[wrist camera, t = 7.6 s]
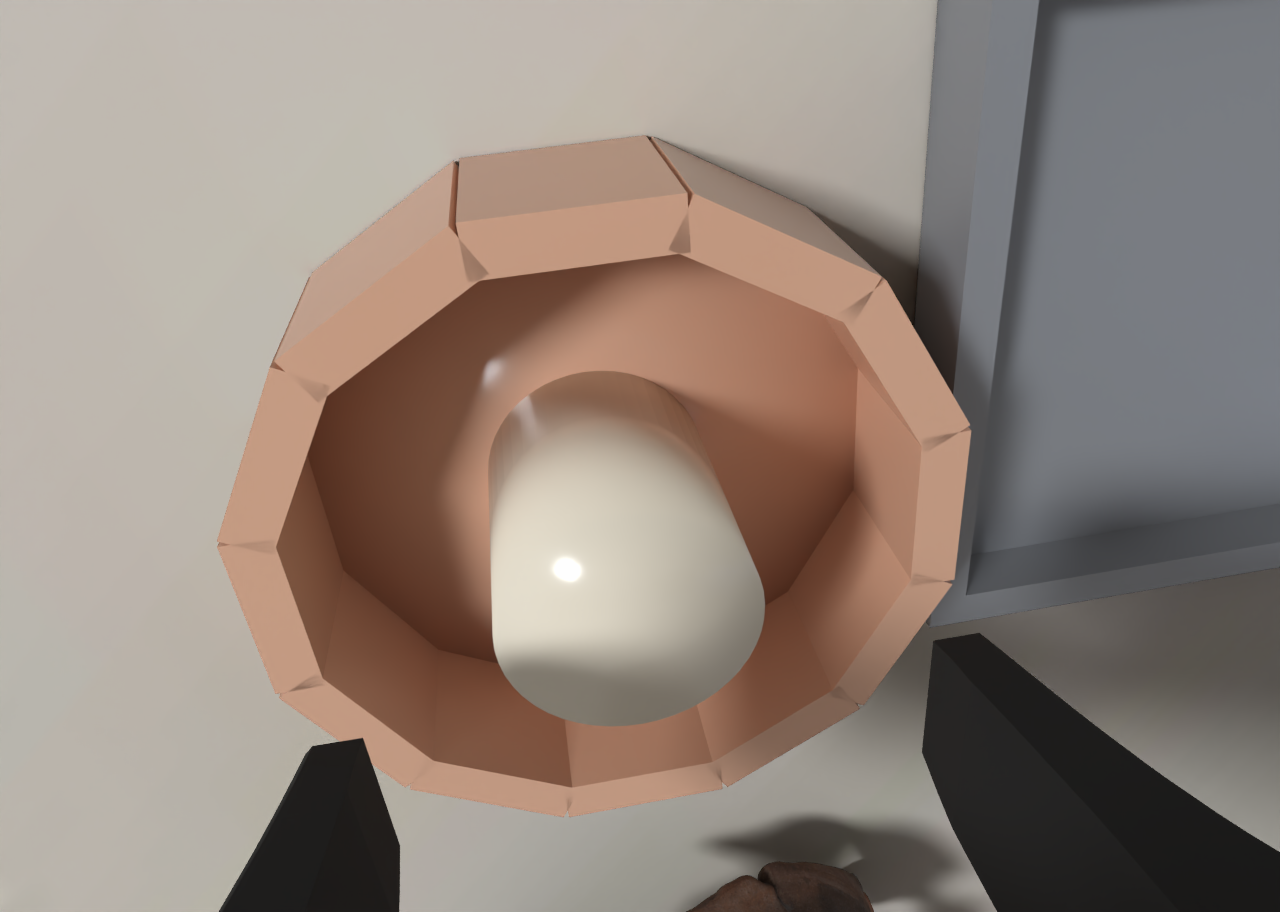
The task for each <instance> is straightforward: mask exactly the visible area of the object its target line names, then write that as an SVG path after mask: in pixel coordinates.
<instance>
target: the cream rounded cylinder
mask: <svg viewBox="0 0 1280 912" xmlns="http://www.w3.org/2000/svg"><path fill="white" fill-rule="evenodd" d="M488 488H489V524H490V560H491V596H492V633H493V643H494V651H495V654H496V657H497V660H498V663H499V665H500V667H501V669H502V671H503V673H504V675H505V677H506V678H507V679H508V681H509V682H510V683H511V685H512V686H513V687H514V688H515V689H516V690H517V691H518V692H519V693H520V694H521V695H522V696H523V697H524V698H525V699H527V700H528V701H529V702H531V703H532V704H533V705H535V706H537V707H538V708H540V709H542V710H544V711H546V712H547V713H550V714H552V715H555V716H557V717H559V718H562V719H565V720H569V721H573V722H576V723H582V724H588V725H594V726H629V725H637V724H644V723H648V722H653V721H657V720H661V719H664V718H667V717H670V716H673V715H676V714H678V713H681V712H683V711H685V710H687V709H690V708H692V707H694V706H695V705H697V704H699V703H701V702H703V701H704V700H706V699H707V698H709V697H710V696H712V695H713V694H715V693H716V692H718V691H719V690H720V689H721V688H722V687H723V686H725V685H726V684H727V683H728V682H729V681H730V680H731V679H732V678H733V677H734V676H735V675H736V674H737V673H738V672H739V671H740V670H741V668H742V667H743V665H744V664H745V663H746V661H747V660H748V659H749V657H750V655H751V654H752V652H753V650H754V648H755V646H756V644H757V642H758V639H759V637H760V634H761V631H762V627H763V622H764V616H765V598H764V590H763V587H762V583H761V579H760V577H759V574H758V572H757V570H756V567H755V565H754V562H753V560H752V558H751V555H750V553H749V551H748V548H747V546H746V544H745V541H744V539H743V536H742V534H741V532H740V529H739V527H738V525H737V522H736V520H735V518H734V515H733V513H732V511H731V508H730V506H729V503H728V501H727V499H726V496H725V494H724V492H723V489H722V487H721V485H720V482H719V480H718V478H717V475H716V473H715V470H714V468H713V466H712V463H711V461H710V459H709V456H708V454H707V452H706V449H705V447H704V445H703V442H702V440H701V437H700V435H699V433H698V430H697V428H696V426H695V424H694V422H693V420H692V418H691V416H690V415H689V413H688V412H687V410H686V409H685V407H684V406H683V405H682V404H681V403H680V402H679V401H678V400H677V399H676V398H675V397H674V396H673V395H672V394H670V393H669V392H668V391H667V390H665V389H664V388H662V387H660V386H659V385H657V384H655V383H654V382H651V381H649V380H647V379H644V378H642V377H639V376H635V375H632V374H629V373H622V372H616V371H588V372H581V373H576V374H571V375H568V376H565V377H562V378H559V379H556V380H554V381H551V382H549V383H547V384H545V385H543V386H541V387H540V388H538V389H536V390H535V391H533V392H532V393H530V394H529V395H528V396H526V397H525V398H524V399H523V400H521V401H520V402H519V403H518V404H517V405H516V406H515V407H514V408H513V409H512V410H511V411H510V412H509V414H508V415H507V417H506V418H505V419H504V421H503V422H502V424H501V425H500V427H499V429H498V431H497V433H496V435H495V437H494V440H493V443H492V446H491V450H490V455H489V461H488Z"/></svg>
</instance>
